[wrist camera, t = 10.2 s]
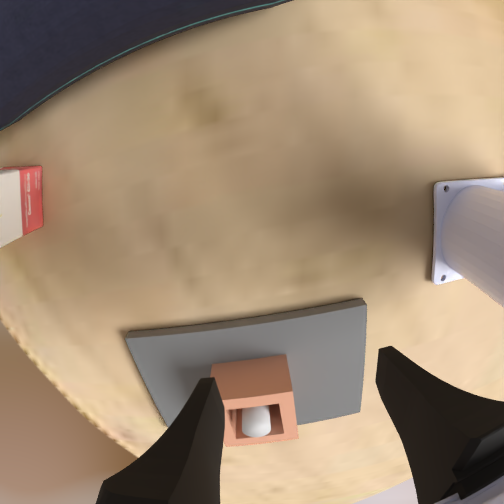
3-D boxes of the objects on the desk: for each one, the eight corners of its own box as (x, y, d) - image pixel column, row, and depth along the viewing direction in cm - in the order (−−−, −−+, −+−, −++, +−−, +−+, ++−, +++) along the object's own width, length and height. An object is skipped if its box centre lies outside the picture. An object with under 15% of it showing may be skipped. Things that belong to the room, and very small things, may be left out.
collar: (286, 354, 22) (292, 391, 18) (292, 402, 24) (298, 438, 20) (212, 363, 22) (207, 401, 18) (227, 411, 24) (225, 446, 20)
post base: (362, 298, 22) (391, 340, 16) (357, 404, 25) (373, 447, 20) (128, 331, 22) (104, 376, 17) (174, 427, 26) (165, 471, 21)
